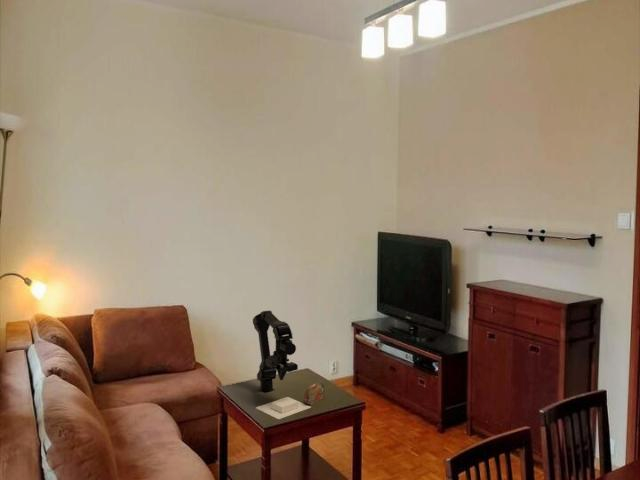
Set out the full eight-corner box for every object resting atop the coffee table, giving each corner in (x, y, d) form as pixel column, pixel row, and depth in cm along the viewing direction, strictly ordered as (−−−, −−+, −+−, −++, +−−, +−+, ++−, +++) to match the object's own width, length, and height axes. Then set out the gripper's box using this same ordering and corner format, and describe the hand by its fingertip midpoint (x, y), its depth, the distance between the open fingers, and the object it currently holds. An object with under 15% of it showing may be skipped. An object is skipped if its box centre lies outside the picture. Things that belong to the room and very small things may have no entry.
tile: (271, 402, 253) (282, 407, 247) (287, 397, 260) (298, 401, 254) (271, 408, 253) (282, 413, 247) (288, 403, 260) (298, 407, 254)
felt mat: (255, 408, 255) (255, 407, 255) (287, 397, 268) (287, 396, 268) (278, 420, 241) (278, 419, 241) (311, 407, 255) (311, 407, 255)
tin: (308, 407, 256) (308, 390, 255) (303, 406, 257) (303, 389, 257) (324, 397, 269) (324, 381, 268) (319, 396, 270) (319, 379, 269)
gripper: (256, 347, 260) (256, 378, 262) (280, 357, 246) (280, 389, 248) (274, 343, 268) (274, 373, 269) (298, 352, 254) (298, 384, 256)
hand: (281, 380), depth 260 cm, fingers closed
